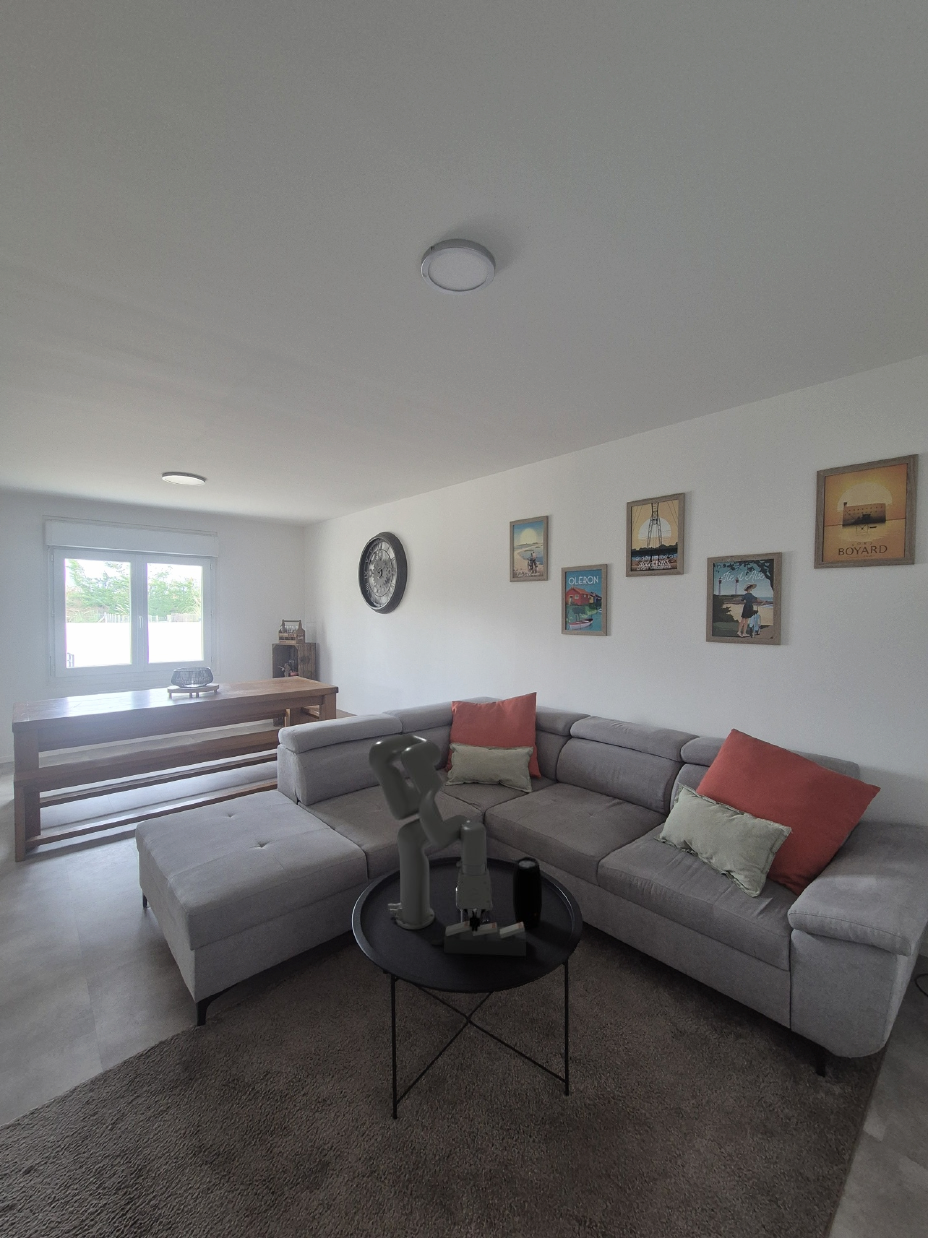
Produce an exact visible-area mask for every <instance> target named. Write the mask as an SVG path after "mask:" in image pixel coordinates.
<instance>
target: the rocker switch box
mask: <svg viewBox="0 0 928 1238" xmlns="http://www.w3.org/2000/svg"><path fill="white" fill-rule="evenodd" d="M451 925H452V924H446V925H445V926H446V927H448V926H451ZM505 927H506V926H497V932H493V933H487V934H481V935H475V936H473V932H472V927H470V930H466V931H463V932H459V933H456V934H452V935H449V936H447V935H446V930H445V932H444V937H443V940H434V939H433V940H432V941H431V945H432V946H443V953H445V954H462V955H463V954H465V955H468V954H469V955H491V956H492V955H493V956H494V955H495V956H516V957H517V956H520V957H526V956H527V940H526V939H527V938H526V929H525V928H524V931H523V932H520V933H517V934H514V935H511V936H507V937H504V938H501V937H500V929H502V928H505Z"/></svg>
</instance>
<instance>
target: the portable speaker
mask: <svg viewBox="0 0 928 1238" xmlns="http://www.w3.org/2000/svg"><path fill="white" fill-rule="evenodd" d="M512 905H513V913H514V918H515V919H514V920H515V922H516V924H517V923H520V922H523V924H524V928H525V930H529V928H531V927H534V926H536V927H539V925H540V923H541V922H540V921H541V917H542V916H541V914H542V909H543V908H542V907H543V879H542V874H541V867H540V863H539V861H538V860H537V859H536V858H535V857H533V856H524V857H522V858H519V859H516V860H515V861H514V870H513V875H512Z"/></svg>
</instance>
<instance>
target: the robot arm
mask: <svg viewBox="0 0 928 1238" xmlns="http://www.w3.org/2000/svg"><path fill="white" fill-rule="evenodd" d="M441 759H442V752H441V749H440V747H439V745H437V744H436V743H435V742H434V741H432V740H429V739H427V738H424V737H422V736H419V735H415V734H411V733H404V734H400V735H396V736H391V737H387V738H382V739H380V740H377V741H376V742H375V743H374V744H373V745H372V746H371V747H370V749H369V753H368V762H369V766H370V769H371V771H372V773H373V776H374V777H375V778H376V780H377V781H378V783H379V786H380V788H381V790H382V793H383V796H384V799H385V801H386V803H387V806H388V809H389V812H390V813H391V816H392V817H393V818H394V819H395V820H397V821H403V820H406V819H410V818H411V817H414V816H418V818H416V819H414V820H411V821H409V822H406V823H404V824H403V825H402V826H401V827H400V828H399V829H398V831H397V834H396V842H397V843H396V844H397V849H398V855H399V873H400V875H399V876H400V877H399V878H400V879H399V881H400V882H399V884H400V885H399V887H400V895H399V896H400V897H399V898H400V902H397V903H388V904H387V910H388V911H389V914H395V921H396V924H397V925H398V926H399V927H401V928H403V929H407V930H419V929H420V930H421V929H423V928H426V927H428V926H429V925H431V924H432V923H433V922H434V919H435V912H434V910H433V909H432V908H431V907H430V861H429V859H428V857H427V856H426V854H425V850H426V849H427V848H429V847H430V846H433V847H434V848H435V849H437V850H439V851H444V850H447V849H449V848H451V847H452V846H455V845H457V844H459V843H460V855H461V856H460V858H461V859H460V860H459V861H457V862H456V865H455V866H456V868H460V869H459V871H458V876H457V886H456V887H457V888H456V909H457V910H460V911H463V912H465V913H466V914H467V916H468V917H469V921H470V927H472V931H474V930H475V931H477V930H478V927H480V925H481V916H483V914H484V913H485V912H486V911H492V910H493V906H494V905H493V902H492V882H491V875H490V872H489V868H487V865H488V864H487V829H486V826H485V825H484V824H483V823H481V822H478V821H474V820H471V819H470V818H468V817H467V816H466V815H463V814H457V815H456V814H455V815H453V816H451V817H448V818H446V819H443V817H442V814H441V811H440V810H439V807H438V804H437V802H436V800H435V798H436V796H437V794H438V793H439V792H440V791H441V789H442V787H443V786H444V782H443V780H442V778H441V776H440V774H439V773H438V771H437V769H436V768H435V766H436V765H438V764H439V763H440V762H441ZM397 762H400V763H401V766H403V769H404V770H405V772H406V774H407V776H408V778H409V779H410V781H411V783H412V785H411V786H409V784H408V783H407V780H406V777H405V776H404V774H403V772H402V771H401V770H400V769H399V768H398V767H396V766H395V765H394V763H397ZM474 910H476V911H474Z"/></svg>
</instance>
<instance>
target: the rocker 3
mask: <svg viewBox="0 0 928 1238" xmlns="http://www.w3.org/2000/svg"><path fill="white" fill-rule="evenodd" d="M504 927H505V928H502V929H500V937H501V938H504V937H507V936H511V935H514V934H517V933H520V932H523V931H524V924H523V922H520V923H517V922H516V923H515V924H512V925H509V926H504Z"/></svg>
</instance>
